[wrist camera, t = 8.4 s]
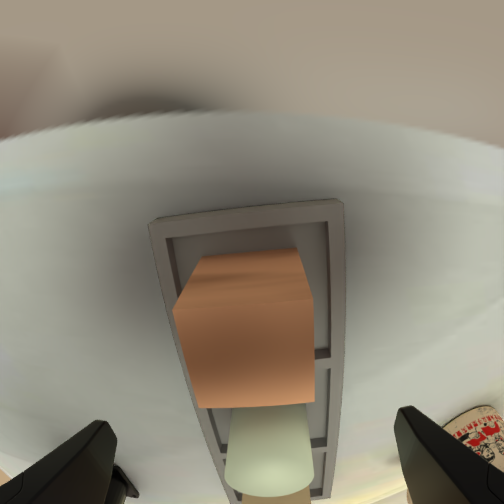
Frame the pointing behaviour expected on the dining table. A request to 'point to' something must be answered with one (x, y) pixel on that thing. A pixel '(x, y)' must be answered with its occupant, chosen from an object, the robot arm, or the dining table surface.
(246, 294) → the terracotta block
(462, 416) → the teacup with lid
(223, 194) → the dining table surface
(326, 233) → the grey compartment tray
